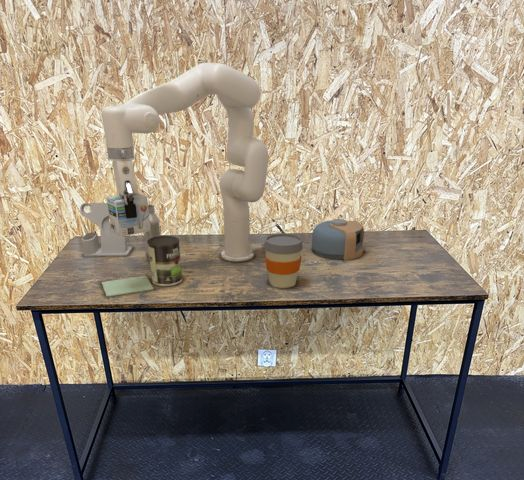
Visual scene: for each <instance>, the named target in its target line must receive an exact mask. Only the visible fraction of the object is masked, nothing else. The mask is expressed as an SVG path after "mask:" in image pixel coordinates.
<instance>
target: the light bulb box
mask: <svg viewBox="0 0 524 480" xmlns="http://www.w3.org/2000/svg"><path fill="white" fill-rule="evenodd" d="M133 195H134V200H135V204H136V211H137V217H136V218H126V213H125V200H124V196H122V195H119V194H118V195H114V196H113V195H112V196H107V197H106V203H107V204H108V211H109V218H110V219H109V222H110V224H111V231H112V232H113V233H115V234H116V235H118V236H120V237H123V236H126V237H127V236H133V235H137V234H142V233H144V232H147V231H150V220H149V211H148V205H149V201H148V196H146V195H144V194H141V193H139V192H138V194H137V195H135V194H134V193H133ZM126 198H127V197H126Z"/></svg>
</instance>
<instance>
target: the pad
mask: <svg viewBox="0 0 524 480" xmlns="http://www.w3.org/2000/svg"><path fill="white" fill-rule="evenodd" d="M101 285H102V289H103V291H104V293H105V296H106V298H110V297H118V296H124V295H129V294H136V293H142V292H149V291H154V290H155V288H154V287H153V285H152V284H151V281H150V280H149V278H148V277H147V275H141V276H134V277H127V278H121V279H114V280H108V281H107V280H106V281H101Z"/></svg>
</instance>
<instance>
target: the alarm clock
mask: <svg viewBox="0 0 524 480" xmlns="http://www.w3.org/2000/svg"><path fill="white" fill-rule="evenodd" d="M311 235H312V236H311V248H312V249H313V251H314V253H315V254H316V255H318V256H320V257H323V258H327V259H335V260H342V259H343V260H344V261H350V260H355V259H358V258H360V257H361V256H363V254H364V250H365V249H364V247H363V245H364V235H365V228H364V226H363V224H362V223H360V222H359V221H357V220H346V219H343V218H334V219H332V220H326V221H325V220H324V221H322V222H320V223H318V224H316V225H315V226H314V228H313V230H312V234H311Z"/></svg>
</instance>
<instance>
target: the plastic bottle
mask: <svg viewBox="0 0 524 480" xmlns="http://www.w3.org/2000/svg"><path fill="white" fill-rule="evenodd" d="M148 211H149V220H150V231H147V232H143V233H144V239H145V258H146V259H147V260H148V261H149V262H150V256H149V248H148V243H147V241H148V240H149V239H150V238H153V237H157V236H161V235H160V234H161V233H160V232H161V231H160V227H161V225H160V223H161V222H160V221H161V220H160V218H159V217H158V215H157V214H156V213H155V212H156V209H155V205H153V204H148Z"/></svg>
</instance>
